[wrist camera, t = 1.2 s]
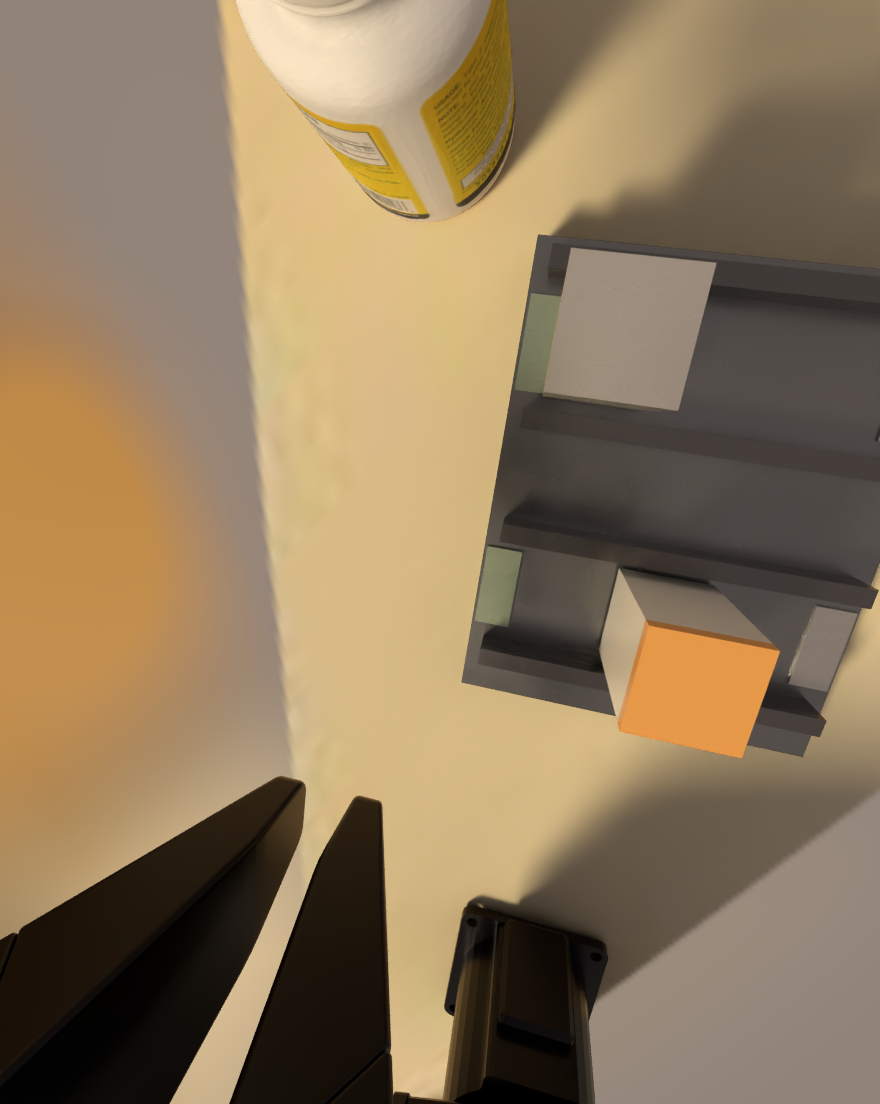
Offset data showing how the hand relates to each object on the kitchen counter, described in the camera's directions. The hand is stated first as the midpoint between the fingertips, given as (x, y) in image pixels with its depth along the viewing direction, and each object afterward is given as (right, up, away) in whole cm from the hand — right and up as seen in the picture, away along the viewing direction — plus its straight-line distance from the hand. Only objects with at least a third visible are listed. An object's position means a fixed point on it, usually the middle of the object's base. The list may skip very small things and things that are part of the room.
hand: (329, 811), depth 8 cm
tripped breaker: (+9, +2, +10) cm, 13 cm away
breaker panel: (+10, +5, +10) cm, 15 cm away
